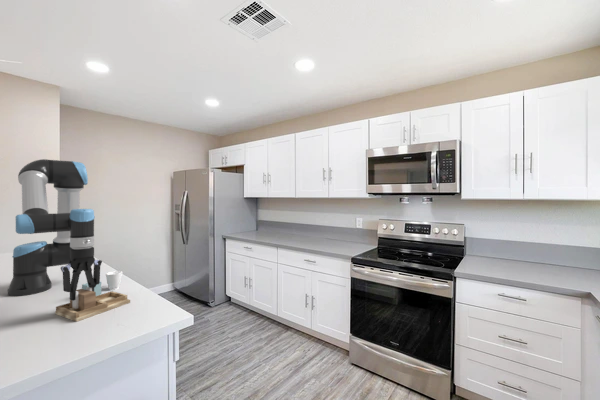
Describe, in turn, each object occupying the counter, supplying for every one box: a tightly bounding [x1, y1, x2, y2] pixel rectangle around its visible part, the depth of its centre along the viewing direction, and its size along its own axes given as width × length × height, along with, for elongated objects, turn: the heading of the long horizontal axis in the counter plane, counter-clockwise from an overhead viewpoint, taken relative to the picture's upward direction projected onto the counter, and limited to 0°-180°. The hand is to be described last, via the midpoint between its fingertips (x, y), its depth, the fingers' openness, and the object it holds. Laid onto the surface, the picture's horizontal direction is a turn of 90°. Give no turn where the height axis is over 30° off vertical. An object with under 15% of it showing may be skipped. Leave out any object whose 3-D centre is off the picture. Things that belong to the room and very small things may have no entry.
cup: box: [105, 270, 123, 291], centre depth 136 cm, size 7×10×8 cm
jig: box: [54, 290, 131, 323], centre depth 111 cm, size 15×20×3 cm
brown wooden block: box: [69, 288, 96, 310], centre depth 107 cm, size 10×4×6 cm, turn 66°
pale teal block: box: [81, 281, 102, 296], centre depth 125 cm, size 4×6×6 cm, turn 155°
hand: (82, 305), depth 107 cm, fingers closed on brown wooden block, 4 cm apart
